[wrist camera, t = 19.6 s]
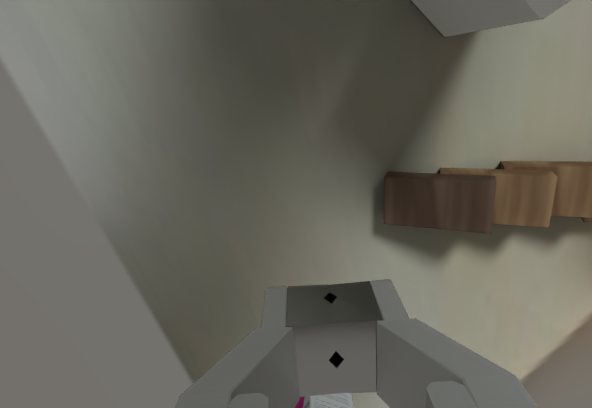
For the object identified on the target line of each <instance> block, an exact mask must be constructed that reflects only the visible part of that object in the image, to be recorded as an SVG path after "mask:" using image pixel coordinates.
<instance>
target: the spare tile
mask: <svg viewBox="0 0 592 408" xmlns="http://www.w3.org/2000/svg"><path fill="white" fill-rule="evenodd" d="M495 192H496V178H495V176H479V175H455V174H430V173H406V172H388V173H387V175H386V176H385V177H384V224H393V225H403V226H414V227H425V228H435V229H446V230H457V231H468V232H478V233H489V234H491V227H492V218H493V210H494V201H495Z"/></svg>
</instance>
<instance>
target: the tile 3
mask: <svg viewBox="0 0 592 408" xmlns="http://www.w3.org/2000/svg"><path fill="white" fill-rule="evenodd" d="M500 169H506V170H547V171H553V173H554V174H555V175H556V176H557V177H558V178H557V184H556V189H555V195H554V201H553V207H552V213H551V216H566V217H588V218H592V162H543V161H501V164H500Z"/></svg>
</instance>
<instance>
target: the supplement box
mask: <svg viewBox="0 0 592 408" xmlns="http://www.w3.org/2000/svg"><path fill="white" fill-rule="evenodd" d="M295 408H353V403H352V396H351V393H336V394H325V395H315V396H304V397H300V400H299V401H298V403H297V405H296V406H295Z"/></svg>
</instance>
